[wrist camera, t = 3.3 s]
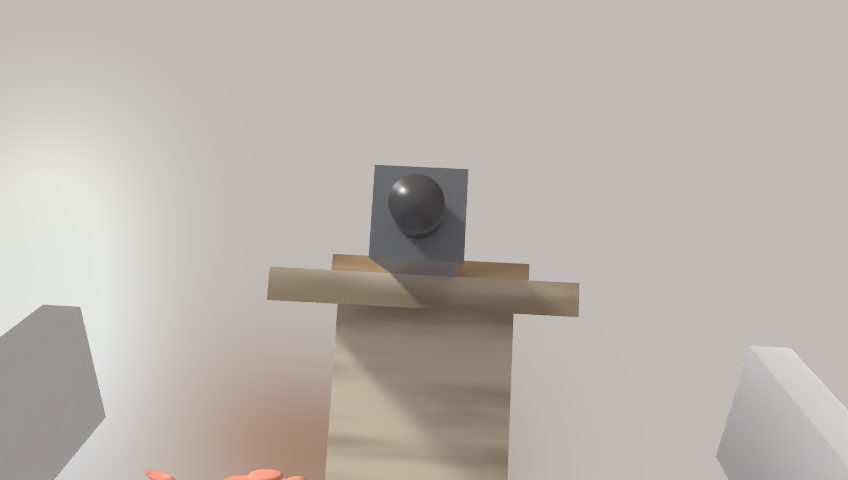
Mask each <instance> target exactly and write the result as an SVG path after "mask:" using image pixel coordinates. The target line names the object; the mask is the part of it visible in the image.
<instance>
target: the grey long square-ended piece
mask: <svg viewBox="0 0 848 480" xmlns="http://www.w3.org/2000/svg"><path fill="white" fill-rule="evenodd" d="M467 182H468V170H467V169H449V168H427V167H426V168H425V167H407V166H405V167H404V166H385V165H375V173H374V187H373V188H374V189H373V203H372V217H371V232H370V248H369V249H370V250H369V258H370V259H371V260H373V261H374V262H375V263H377V264H378V265H380V266H381V267H382V268H384V269H385V270H386V271H388V272H389V273H396V274H415V275H433V276H452V277H457V275H458V273H459V271H460V269H461V267H462V265H463V263H464V247H465V226H466V225H465V224H466V205H467V184H468V183H467Z"/></svg>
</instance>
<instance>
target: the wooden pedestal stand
mask: <svg viewBox="0 0 848 480" xmlns="http://www.w3.org/2000/svg"><path fill="white" fill-rule="evenodd" d="M267 300H280V301H299V302H316V303H334V304H338V308H337V322H336V336H335V351H334V364H333V378H332V392H331V405H330V420H329V433H328V447H327V461H326V475H325V480H507V474H508V473H507V471H508V446H509V418H510V392H511V365H512V338H513V336H512V335H513V313H516V314H533V315H552V316H569V317H578V311H579V308H578V307H579V283H564V282H545V281H529V264H512V263H494V262H475V261H464V263H463V265H462V267H461V269H460V271H459V273H458V275H457V277H452V276H433V275H415V274H396V273H389V272H388V271H386V270H385V269H384V268H382V267H381V266H380V265H378V264H377V263H375V262H374V261H373V260H371V259H370V258H369V256H360V255H341V254H340V255H339V254H333V261H332V270H321V269H303V268H283V267H270V272H269V284H268V295H267Z"/></svg>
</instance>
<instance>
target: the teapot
mask: <svg viewBox="0 0 848 480" xmlns="http://www.w3.org/2000/svg"><path fill="white" fill-rule="evenodd" d="M145 473H146V475H147V476H148V477H149V478H150V479H151V480H175V479H174V478H173V477H172V476H170V475H168V474H166V473H163V472H159V471H153V470H147V471H145ZM282 477H283V473H282V472H280V471H277V470H273V469H262V470H257V471H254V472H251V473H250V474H249V476H231V477H229V478H227V479H225V480H306V478H304V477H302V476H293V477H290V478H289V479H282Z"/></svg>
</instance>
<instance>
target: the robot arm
mask: <svg viewBox="0 0 848 480" xmlns="http://www.w3.org/2000/svg"><path fill="white" fill-rule="evenodd" d="M105 417H106V416H105V412H104V408H103V403H102V399H101V395H100V390H99V386H98V383H97V377H96V373H95V369H94V365H93V360H92V356H91V352H90V347H89V343H88V339H87V335H86V330H85V326H84V322H83V317H82V313H81V309H80V307H71V306H54V305H42V306H41V307H39V308H38V309H37V310H35V311H34V312H33V313H31V314H30V315H29V316H27V317H26V318H25V319H24V320H22V321H21V322H20V323H18V324H17V325H16V326H14V327H13V328H12V329H10V330H9V331H8V332H7V333H5V334H4V335H3V336H1V337H0V480H54V479H55V478H56V476H57V475H58V474H59V473H60V471H61V470H62V469H63V467H65V466H66V464H67V463H68V462H69V461H70V459H71V458H72V457H73V456H74V455H75V453H76V452H77V451H78V450H79V449H80V447H81V446H82V445H83V444H84V443H85V441H86V440H87V439H88V437H89V436H90V435H91V434H92V433H93V432H94V430H95V429H96V428H97V427H98V425H99V424H100V423H101V422H102V421H103V419H104V418H105ZM716 457H717V459H718V461H719V463H720V465H721V466H722V468H723V470H724V472H725V474H726V475H727V477H728V479H729V480H848V410H847V409H846V408H845V407H844V406H843V404H842V403H841V402H840V401H839V400H838V399H837V398H836V397H835V396H834V395H833V394H832V393H831V391H830V390H829V389H828V388H826V386H825V385H824V384H823V383H822V382H821V381H820V380H819V379H818V377H817V376H816V375H815V374H814V373H813V372H812V371H811V370H810V369H809V368H808V367H807V365H805V363H804V362H803V361H802V360H801V359H800V358H799V357H798V356H797V355H796V354H795V353H794V351H793V350H792V349H791V348H779V347H761V346H750V347H749V349H748V353H747V356H746V360H745V363H744V366H743V369H742V372H741V376H740V379H739V382H738V386H737V389H736V392H735V395H734V399H733V402H732V405H731V409H730V412H729V415H728V419H727V422H726V425H725V429H724V432H723V435H722V438H721V442H720V445H719V448H718V451H717V455H716Z"/></svg>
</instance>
